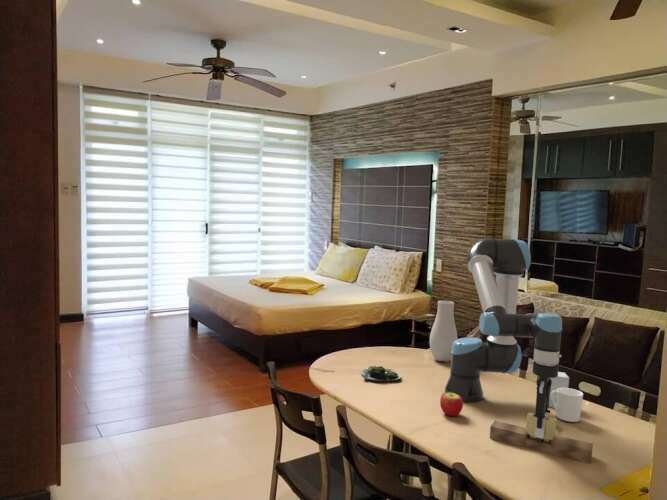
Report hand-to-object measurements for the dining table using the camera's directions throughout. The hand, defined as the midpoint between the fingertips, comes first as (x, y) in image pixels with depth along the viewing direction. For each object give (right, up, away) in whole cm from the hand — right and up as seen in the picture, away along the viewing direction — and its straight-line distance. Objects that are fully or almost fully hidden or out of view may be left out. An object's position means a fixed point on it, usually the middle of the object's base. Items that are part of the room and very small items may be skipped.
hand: (540, 434), depth 166 cm
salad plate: (-45, +2, +64) cm, 79 cm away
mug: (+20, -4, +27) cm, 33 cm away
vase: (-11, +3, +96) cm, 97 cm away
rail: (0, -4, +1) cm, 4 cm away
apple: (-23, -2, +25) cm, 34 cm away
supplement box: (+22, -3, +40) cm, 46 cm away
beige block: (0, -3, +1) cm, 3 cm away
